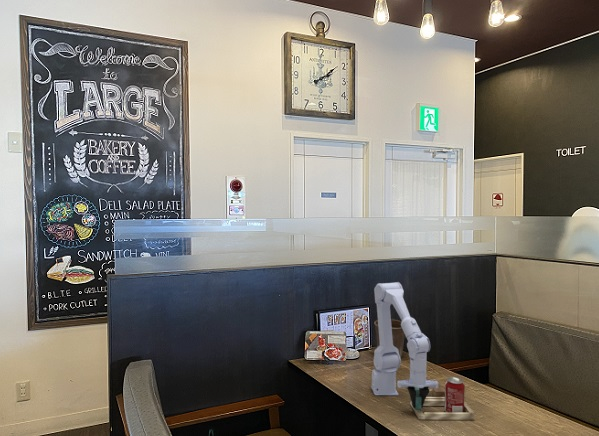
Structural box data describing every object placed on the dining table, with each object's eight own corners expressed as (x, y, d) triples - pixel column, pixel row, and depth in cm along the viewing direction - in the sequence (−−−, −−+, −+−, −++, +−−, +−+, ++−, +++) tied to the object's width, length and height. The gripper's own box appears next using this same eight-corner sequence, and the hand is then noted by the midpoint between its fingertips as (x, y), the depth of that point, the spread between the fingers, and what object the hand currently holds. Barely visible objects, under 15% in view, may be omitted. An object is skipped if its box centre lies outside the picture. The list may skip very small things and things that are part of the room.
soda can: (465, 417, 162) (466, 384, 162) (445, 415, 164) (446, 382, 163) (462, 409, 169) (463, 377, 168) (443, 407, 170) (444, 375, 170)
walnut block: (435, 401, 175) (435, 391, 175) (432, 397, 179) (432, 387, 179) (445, 401, 175) (446, 391, 175) (442, 397, 179) (442, 387, 179)
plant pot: (412, 360, 222) (412, 327, 221) (380, 361, 218) (381, 328, 218) (398, 349, 237) (399, 318, 237) (369, 350, 234) (369, 319, 234)
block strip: (416, 403, 173) (416, 392, 173) (410, 394, 181) (410, 384, 181) (455, 403, 173) (455, 393, 173) (448, 394, 181) (448, 384, 181)
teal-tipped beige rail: (419, 419, 160) (419, 402, 160) (410, 404, 172) (410, 388, 172) (474, 419, 160) (474, 402, 160) (461, 404, 172) (462, 388, 172)
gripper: (400, 373, 161) (400, 411, 162) (441, 374, 162) (440, 411, 162) (396, 366, 168) (395, 402, 169) (435, 366, 169) (434, 403, 169)
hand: (417, 406), depth 166 cm, fingers closed on teal-tipped beige rail, 2 cm apart
